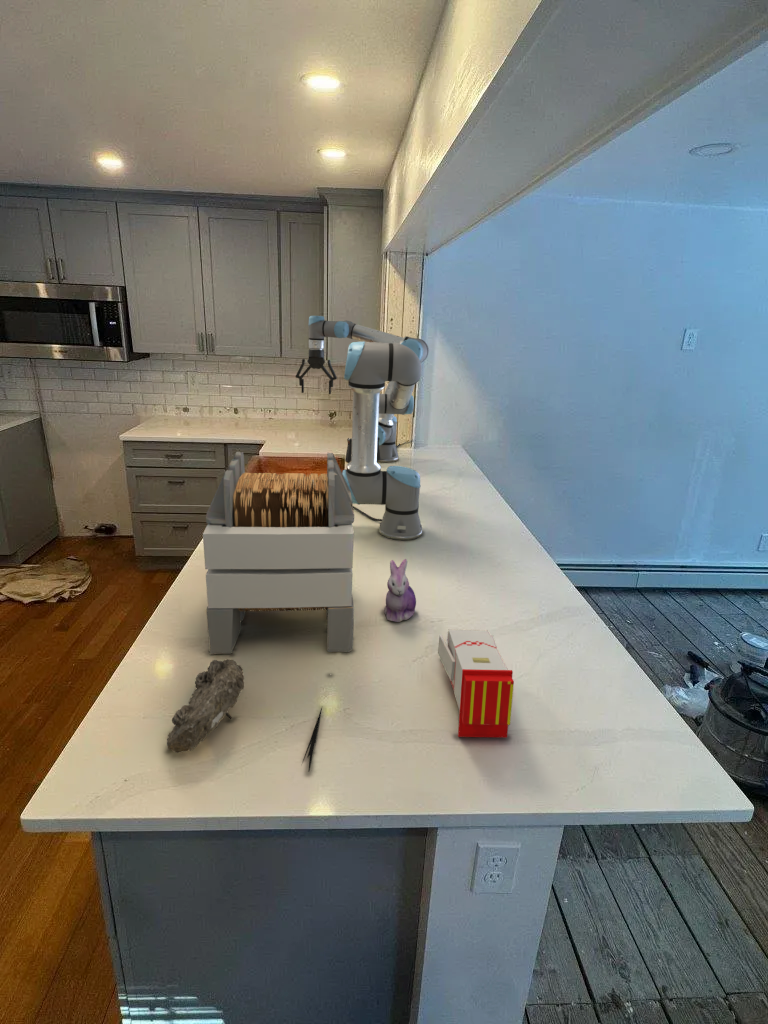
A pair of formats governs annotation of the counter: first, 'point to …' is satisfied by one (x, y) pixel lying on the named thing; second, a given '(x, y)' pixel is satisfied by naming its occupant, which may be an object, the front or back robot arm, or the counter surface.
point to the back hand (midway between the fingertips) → (316, 393)
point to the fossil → (206, 705)
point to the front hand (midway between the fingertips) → (362, 477)
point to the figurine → (399, 594)
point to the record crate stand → (279, 550)
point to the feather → (313, 740)
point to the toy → (478, 682)
